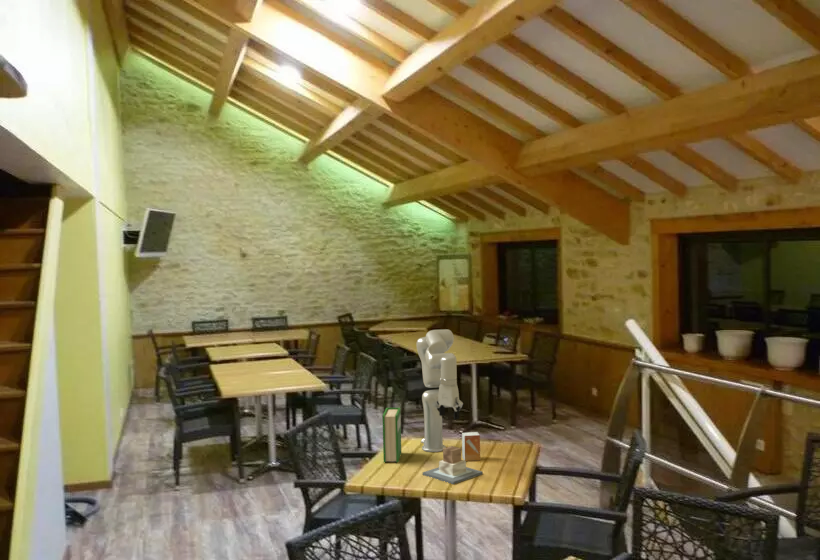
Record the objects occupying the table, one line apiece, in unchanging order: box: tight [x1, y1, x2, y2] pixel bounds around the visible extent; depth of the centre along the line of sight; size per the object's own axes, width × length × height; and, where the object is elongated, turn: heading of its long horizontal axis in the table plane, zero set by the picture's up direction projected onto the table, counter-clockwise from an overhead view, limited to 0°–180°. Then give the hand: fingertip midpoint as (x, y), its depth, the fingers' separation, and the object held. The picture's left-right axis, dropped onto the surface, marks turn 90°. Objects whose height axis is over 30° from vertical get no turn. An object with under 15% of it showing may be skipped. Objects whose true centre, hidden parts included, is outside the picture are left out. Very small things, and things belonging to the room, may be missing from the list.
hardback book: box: [382, 407, 402, 463], centre depth 358 cm, size 18×7×24 cm, turn 176°
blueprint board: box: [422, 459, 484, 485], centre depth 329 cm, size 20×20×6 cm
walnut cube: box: [442, 445, 462, 464], centre depth 329 cm, size 6×6×6 cm
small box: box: [461, 431, 481, 462], centre depth 352 cm, size 8×6×13 cm
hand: (449, 417), depth 335 cm, fingers open, 9 cm apart
